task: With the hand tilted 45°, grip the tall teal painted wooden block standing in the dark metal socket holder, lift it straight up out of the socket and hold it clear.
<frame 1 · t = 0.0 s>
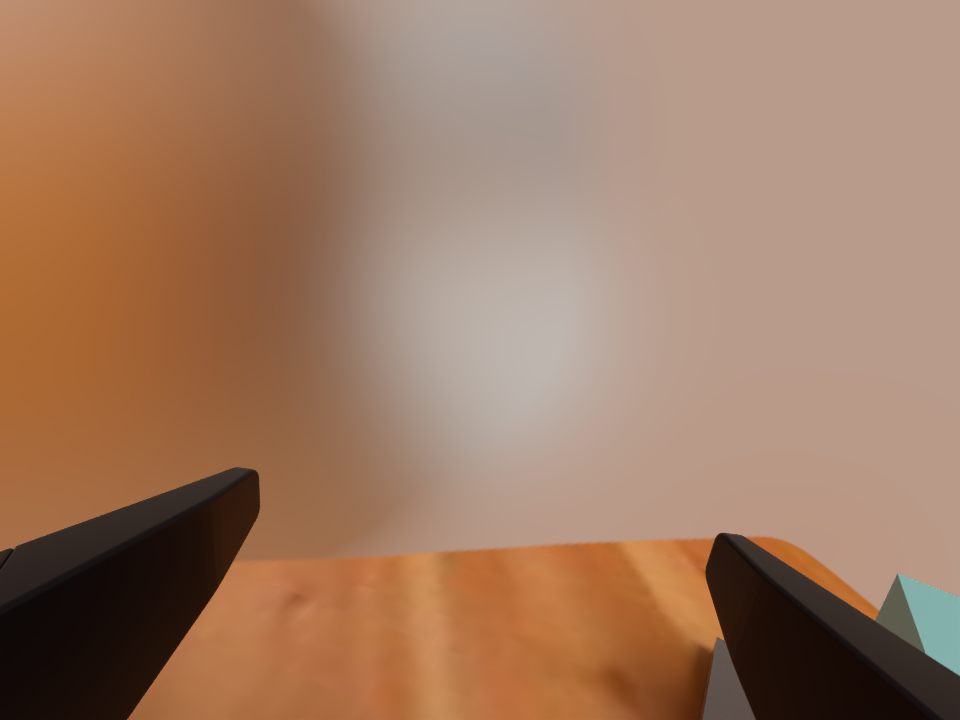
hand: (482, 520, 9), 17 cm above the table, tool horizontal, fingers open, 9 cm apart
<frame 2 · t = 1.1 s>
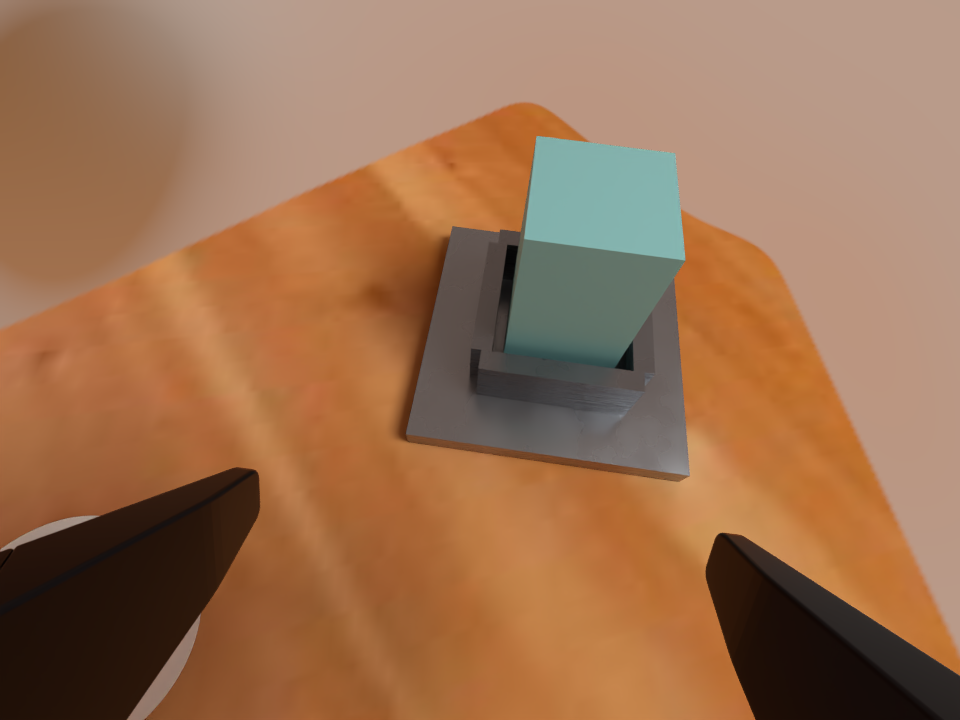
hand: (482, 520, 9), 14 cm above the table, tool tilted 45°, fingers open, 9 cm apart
socket holder: (551, 344, 27), on the table
wall hook: (82, 646, 19), on the table
teal block: (554, 334, 26), point 1 cm above the table, touching socket holder
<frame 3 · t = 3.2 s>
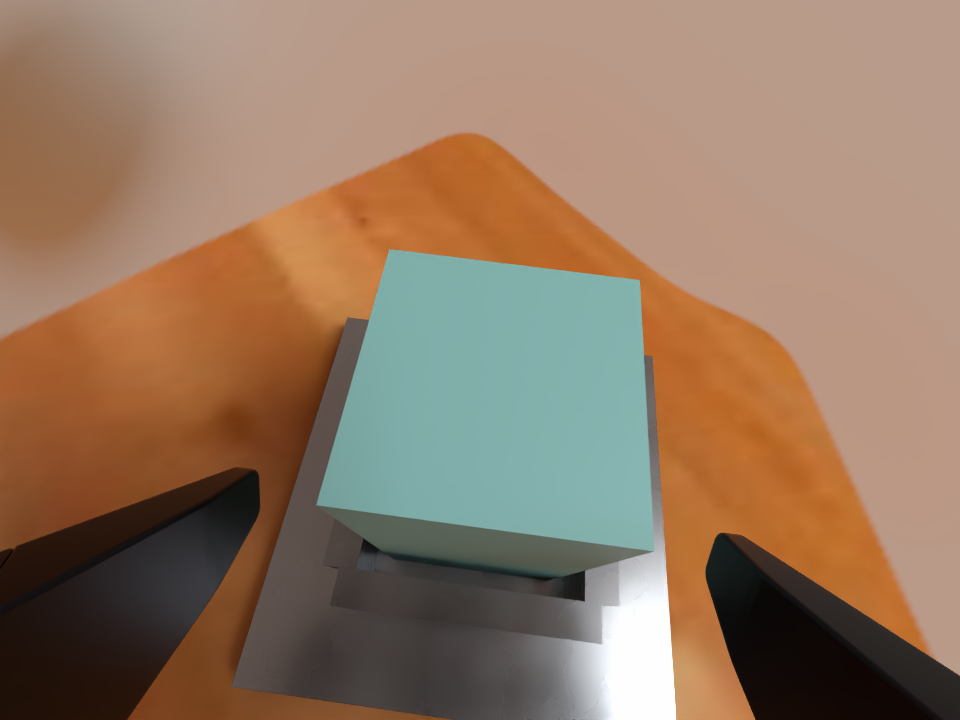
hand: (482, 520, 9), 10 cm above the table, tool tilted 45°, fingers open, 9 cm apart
socket holder: (478, 498, 19), on the table
teal block: (479, 491, 17), point 1 cm above the table, touching socket holder
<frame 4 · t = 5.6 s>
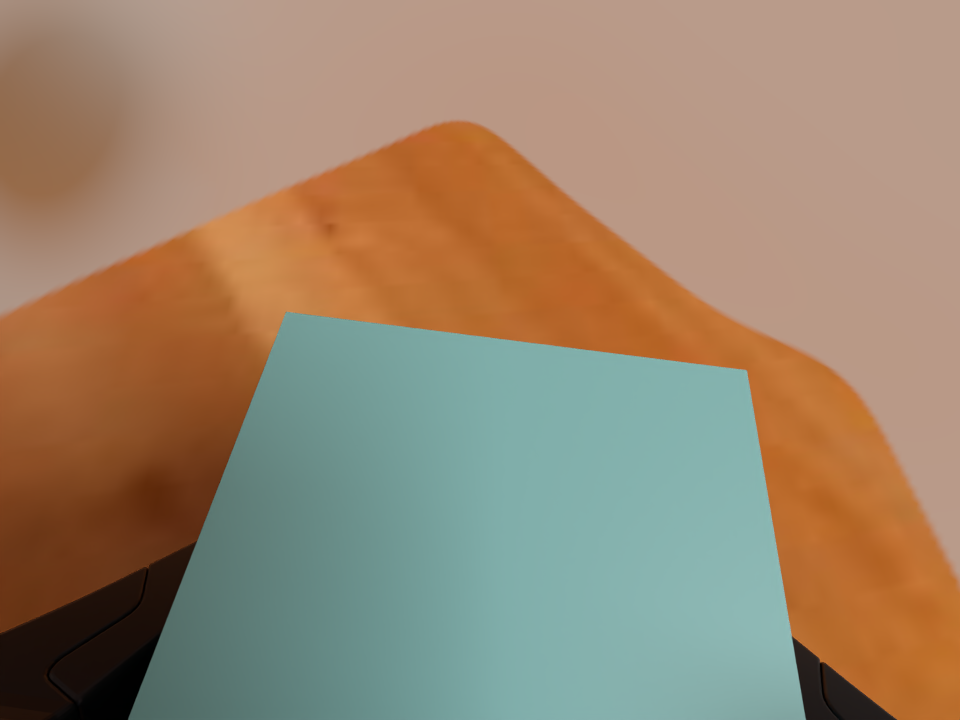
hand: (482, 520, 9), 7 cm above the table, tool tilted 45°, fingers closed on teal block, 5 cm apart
teal block: (468, 599, 13), point 1 cm above the table, touching gripper, socket holder
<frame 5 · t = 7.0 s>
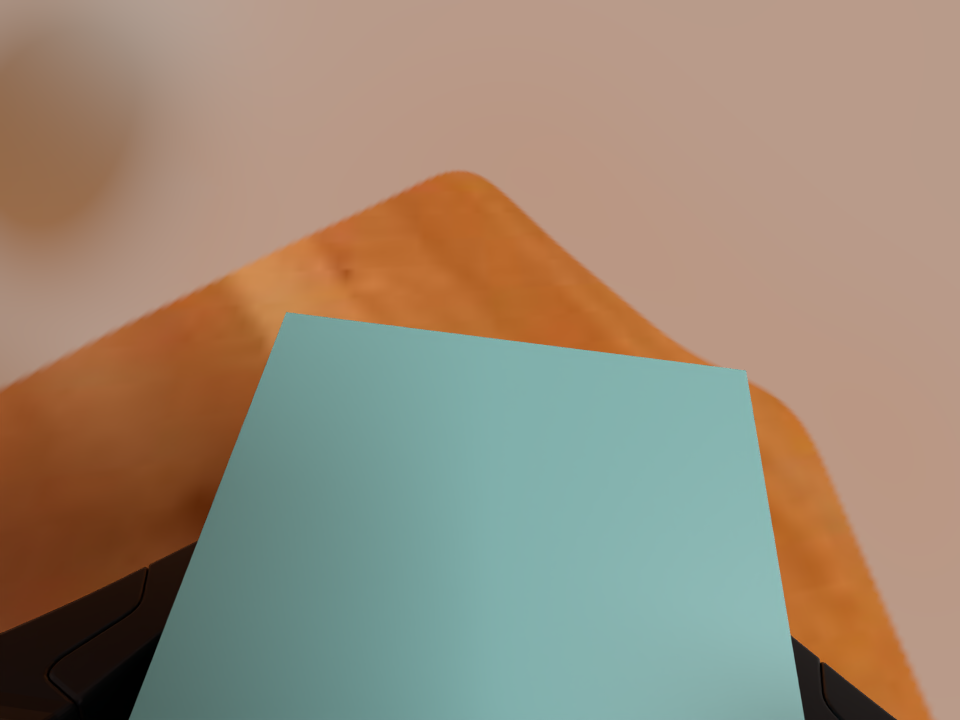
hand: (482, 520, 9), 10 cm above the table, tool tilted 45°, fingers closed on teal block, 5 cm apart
teal block: (468, 599, 13), point 5 cm above the table, touching gripper
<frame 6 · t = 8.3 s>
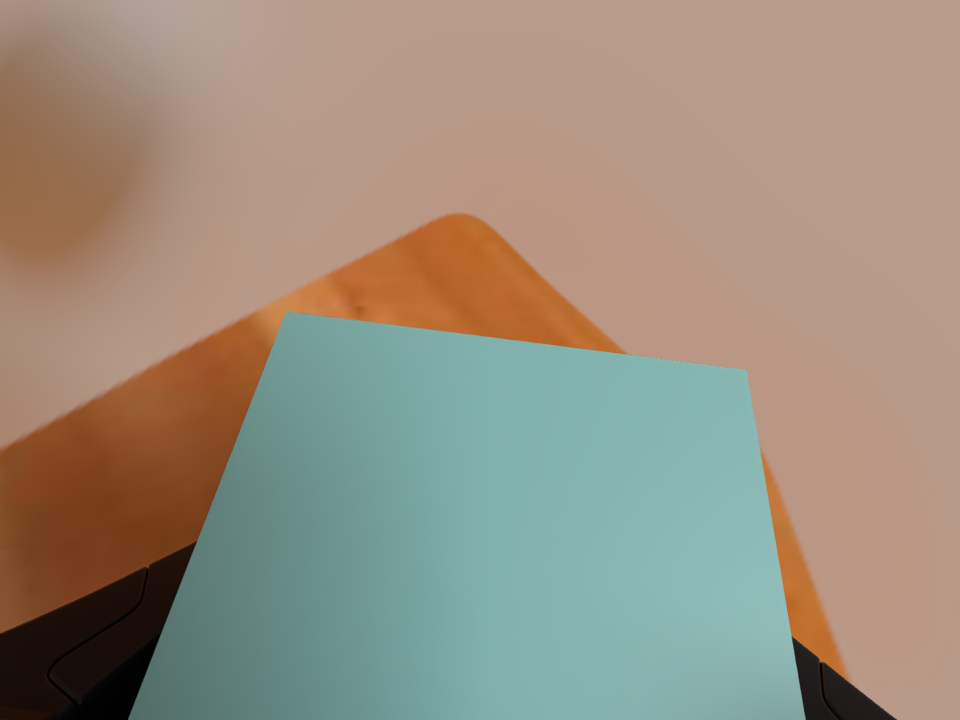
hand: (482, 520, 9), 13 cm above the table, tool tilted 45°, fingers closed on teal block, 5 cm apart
teal block: (468, 599, 13), point 8 cm above the table, touching gripper
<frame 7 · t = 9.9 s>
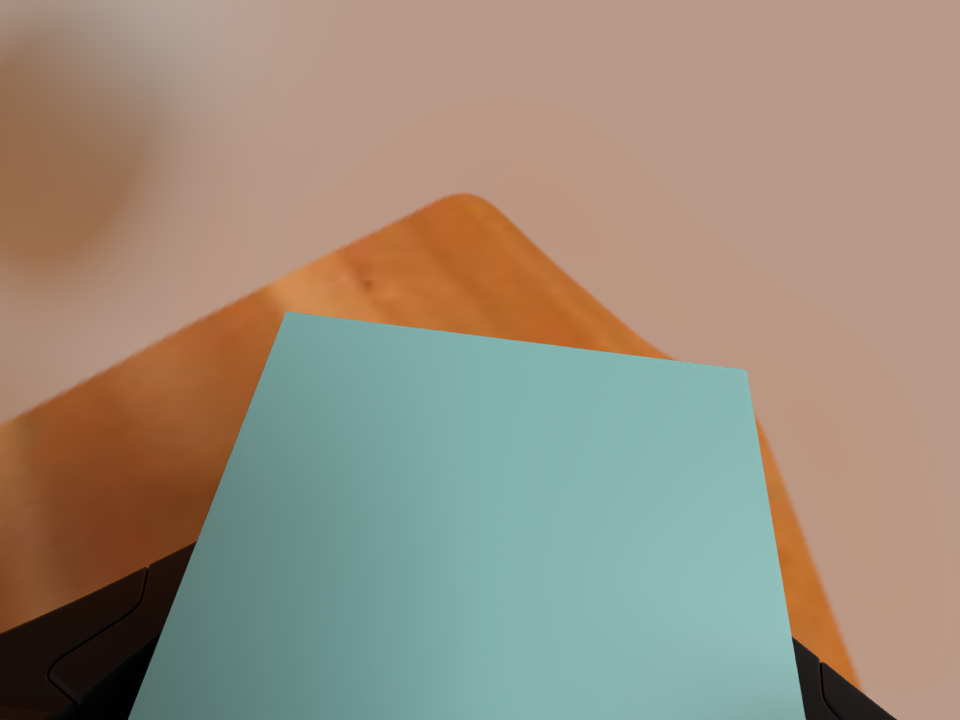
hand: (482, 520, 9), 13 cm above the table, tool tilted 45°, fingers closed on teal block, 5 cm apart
teal block: (468, 599, 13), point 8 cm above the table, touching gripper
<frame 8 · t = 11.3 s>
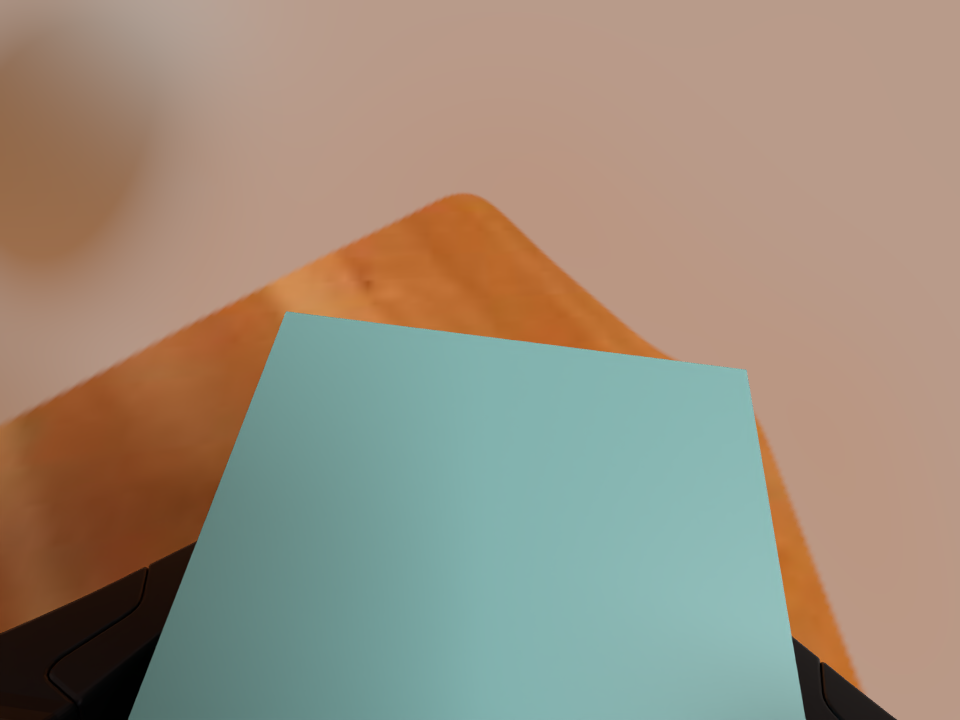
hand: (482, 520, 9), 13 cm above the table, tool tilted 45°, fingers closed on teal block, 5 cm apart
teal block: (468, 599, 13), point 8 cm above the table, touching gripper
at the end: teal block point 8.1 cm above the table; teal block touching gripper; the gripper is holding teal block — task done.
